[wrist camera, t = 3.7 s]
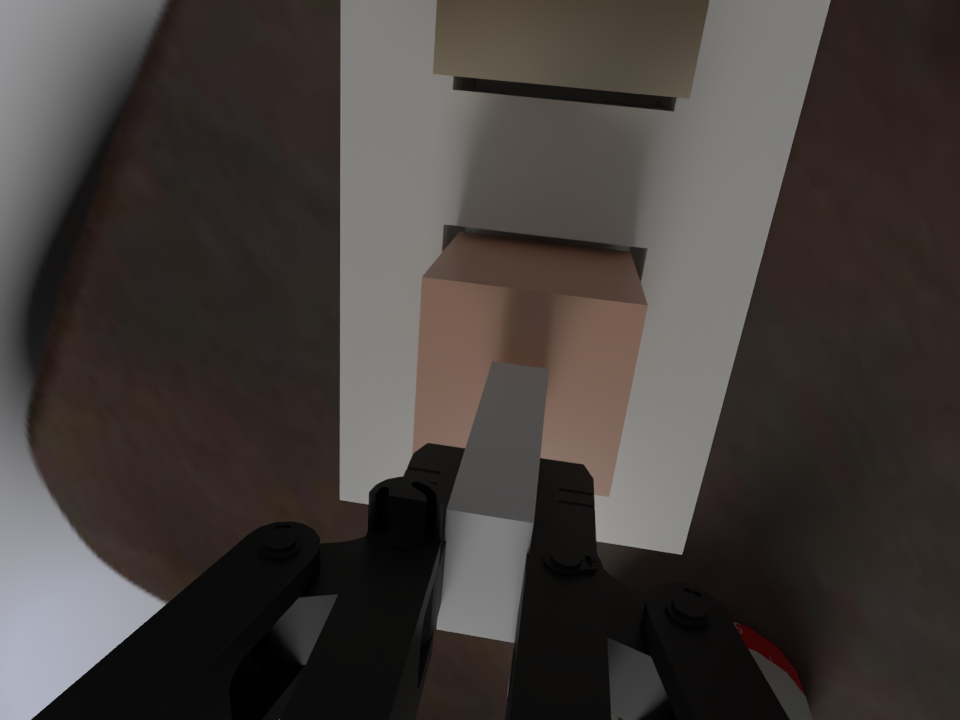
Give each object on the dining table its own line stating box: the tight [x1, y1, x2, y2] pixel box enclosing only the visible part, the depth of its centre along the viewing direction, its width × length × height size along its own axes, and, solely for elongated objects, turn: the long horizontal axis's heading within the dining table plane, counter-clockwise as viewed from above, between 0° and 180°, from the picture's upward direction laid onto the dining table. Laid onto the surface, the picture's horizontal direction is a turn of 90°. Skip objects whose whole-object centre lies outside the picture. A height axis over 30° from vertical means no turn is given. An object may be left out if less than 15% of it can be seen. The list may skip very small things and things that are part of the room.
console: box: [340, 0, 831, 555], centre depth 23 cm, size 28×14×6 cm, turn 175°
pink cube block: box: [412, 231, 648, 497], centre depth 21 cm, size 6×6×6 cm
